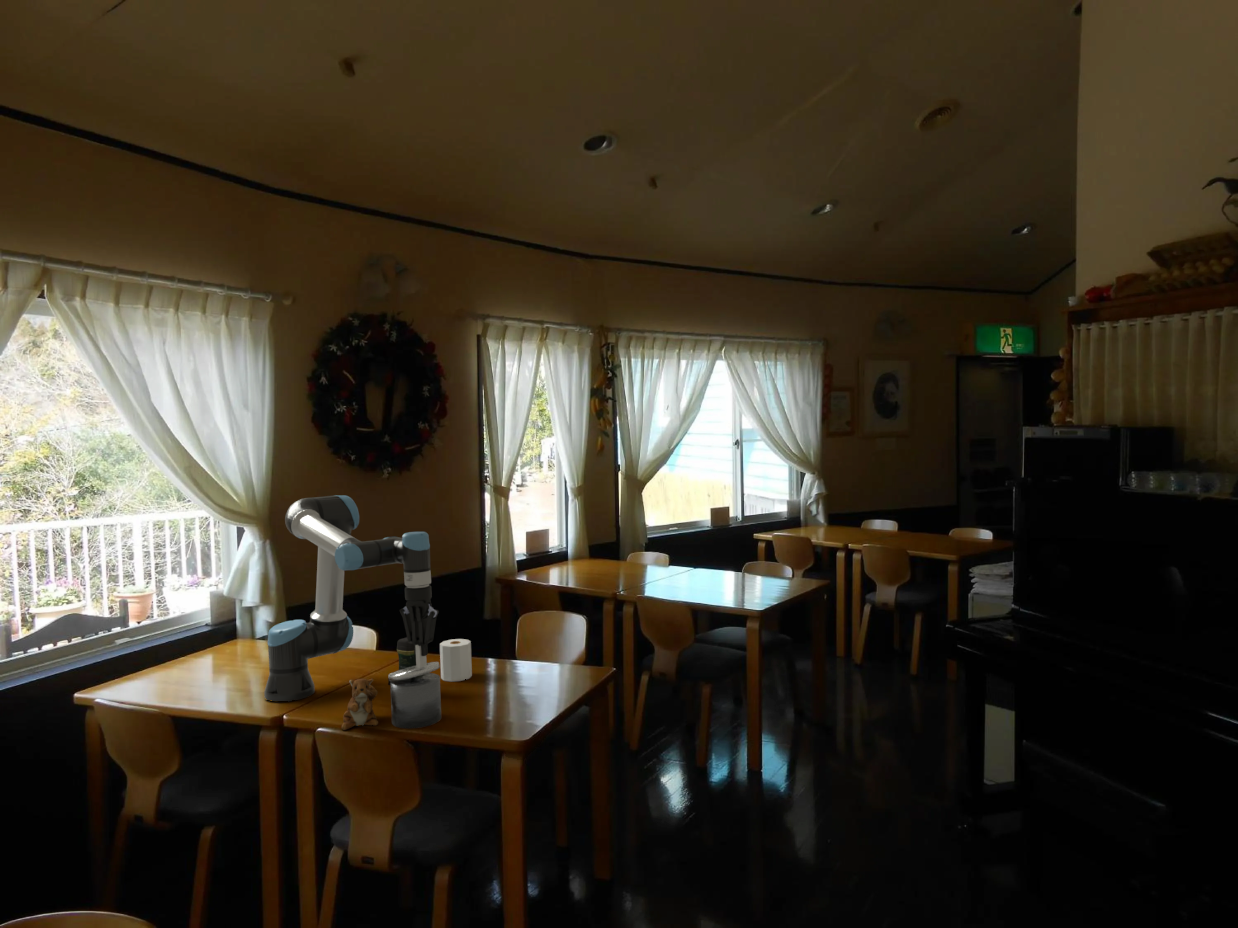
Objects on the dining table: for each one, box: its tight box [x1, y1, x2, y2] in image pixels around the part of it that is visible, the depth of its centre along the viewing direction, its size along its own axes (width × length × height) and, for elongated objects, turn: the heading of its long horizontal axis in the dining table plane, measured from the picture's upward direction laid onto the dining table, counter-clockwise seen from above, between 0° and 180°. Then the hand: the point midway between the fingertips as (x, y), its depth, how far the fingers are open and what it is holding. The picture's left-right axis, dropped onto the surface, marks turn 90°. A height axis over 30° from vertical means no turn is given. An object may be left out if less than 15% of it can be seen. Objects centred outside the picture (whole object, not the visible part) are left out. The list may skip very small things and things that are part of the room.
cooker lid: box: [388, 661, 441, 681], centre depth 238 cm, size 15×15×1 cm
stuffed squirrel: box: [341, 678, 379, 731], centre depth 238 cm, size 10×14×13 cm
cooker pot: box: [387, 672, 442, 730], centre depth 238 cm, size 15×14×12 cm
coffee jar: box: [396, 636, 416, 670], centre depth 263 cm, size 10×8×19 cm
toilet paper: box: [439, 638, 473, 683], centre depth 279 cm, size 10×10×12 cm
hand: (421, 666), depth 236 cm, fingers closed
